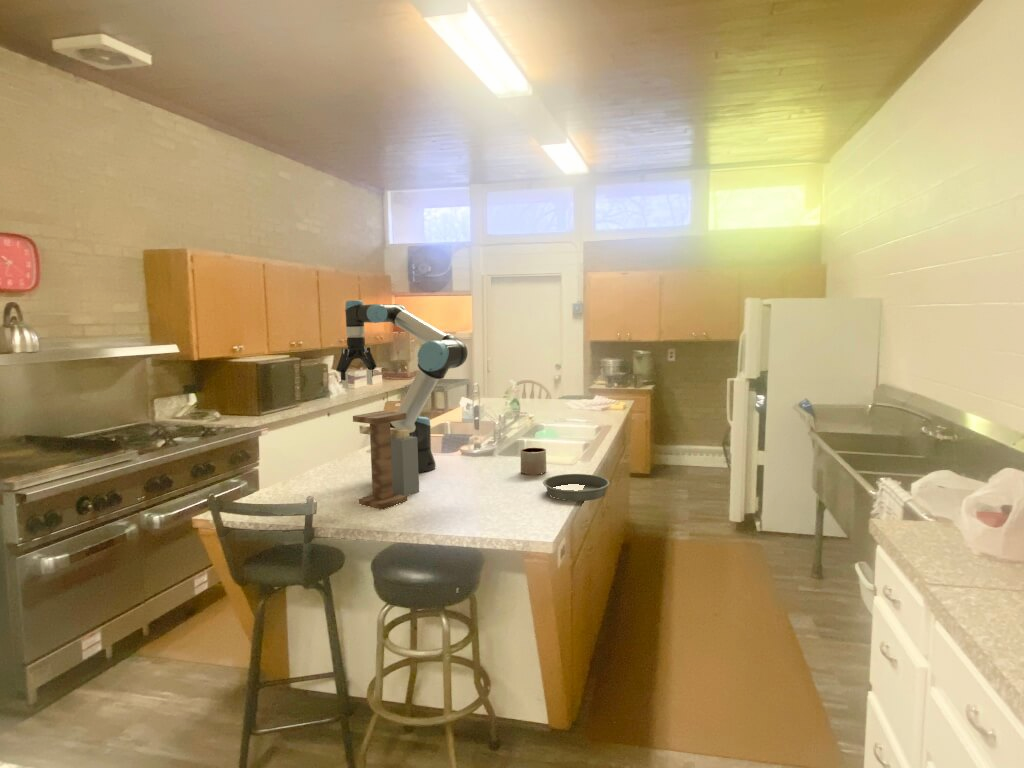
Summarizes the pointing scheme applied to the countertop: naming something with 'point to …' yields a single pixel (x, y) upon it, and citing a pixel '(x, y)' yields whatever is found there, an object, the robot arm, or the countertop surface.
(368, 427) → the birch bar
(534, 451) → the planter
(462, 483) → the countertop surface
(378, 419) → the walnut stand
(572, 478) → the cake pan
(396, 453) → the slate block
